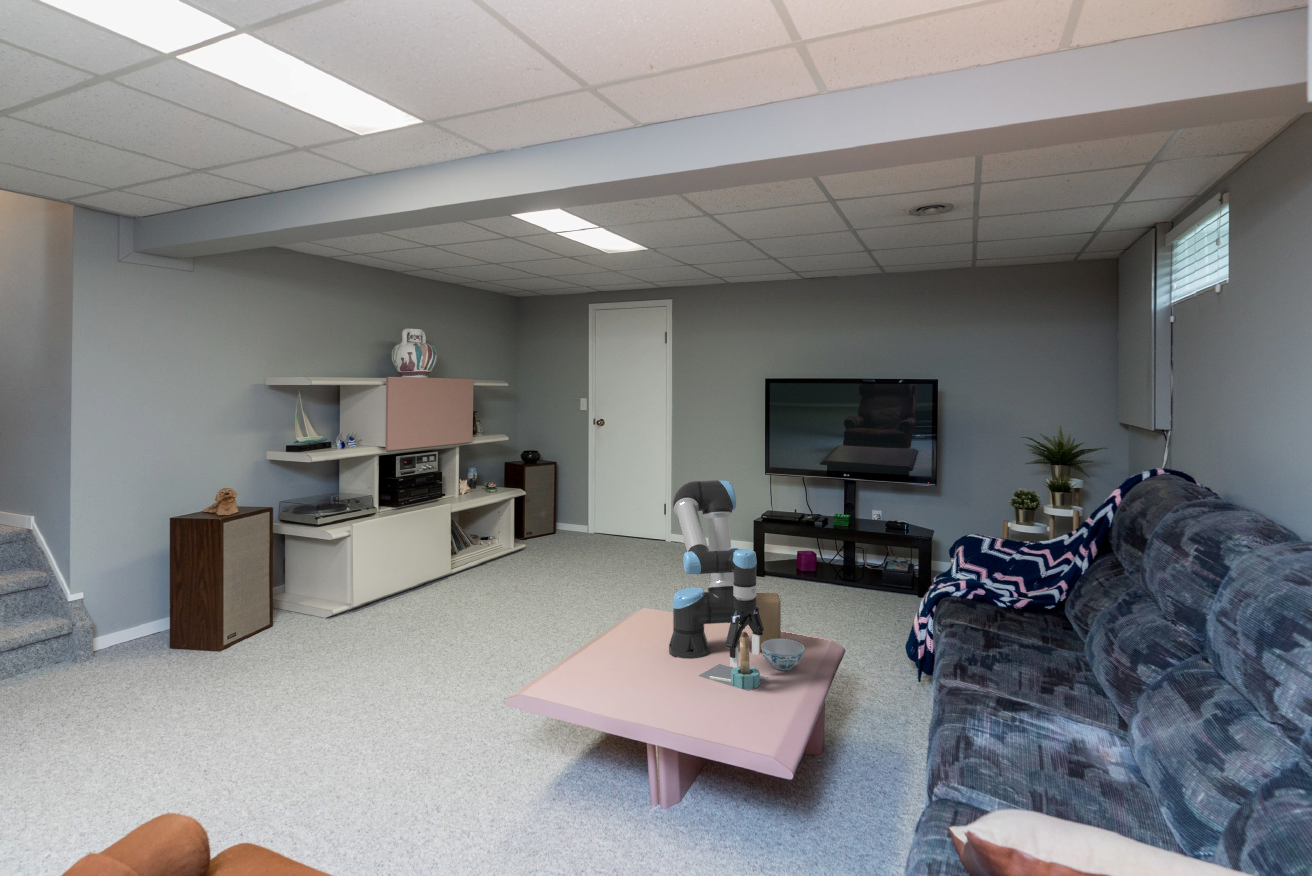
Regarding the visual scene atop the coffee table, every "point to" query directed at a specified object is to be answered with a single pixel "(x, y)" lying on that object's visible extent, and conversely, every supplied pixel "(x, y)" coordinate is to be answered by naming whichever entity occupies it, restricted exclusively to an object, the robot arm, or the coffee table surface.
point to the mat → (724, 674)
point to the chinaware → (782, 653)
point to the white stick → (720, 678)
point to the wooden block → (769, 615)
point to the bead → (745, 678)
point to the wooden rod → (744, 654)
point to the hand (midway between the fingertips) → (745, 660)
